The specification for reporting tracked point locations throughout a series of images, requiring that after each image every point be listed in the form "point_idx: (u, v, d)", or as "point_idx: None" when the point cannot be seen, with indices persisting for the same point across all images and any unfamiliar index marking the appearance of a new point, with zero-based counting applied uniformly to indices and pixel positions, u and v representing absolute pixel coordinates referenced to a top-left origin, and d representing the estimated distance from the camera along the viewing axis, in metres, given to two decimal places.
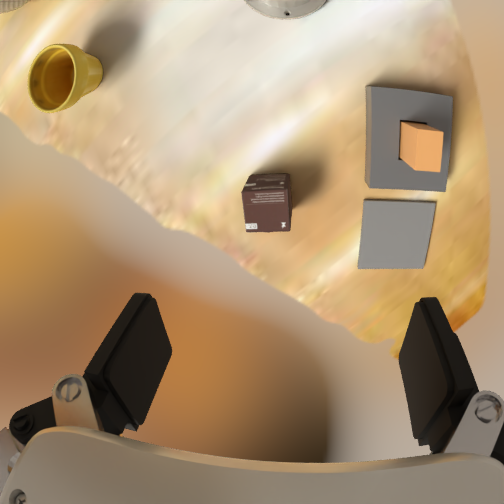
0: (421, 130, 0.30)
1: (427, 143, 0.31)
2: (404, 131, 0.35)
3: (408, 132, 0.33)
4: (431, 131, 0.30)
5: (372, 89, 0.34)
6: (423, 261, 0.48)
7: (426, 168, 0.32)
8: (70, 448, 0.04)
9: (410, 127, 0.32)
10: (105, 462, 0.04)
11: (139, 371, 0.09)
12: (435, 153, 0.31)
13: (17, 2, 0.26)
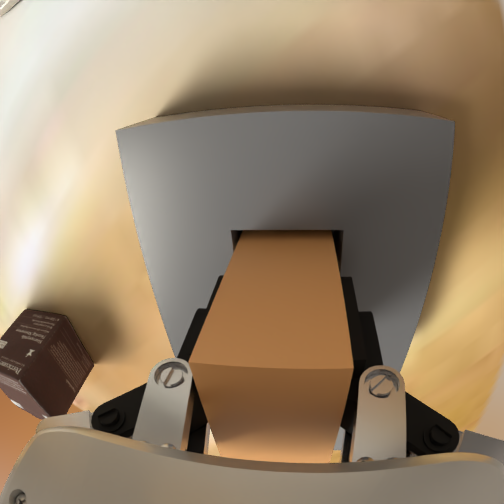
0: (212, 368, 0.06)
1: (259, 409, 0.07)
2: None
3: None
4: (275, 370, 0.06)
5: (121, 141, 0.10)
6: None
7: (267, 459, 0.08)
8: (70, 448, 0.04)
9: None
10: (105, 462, 0.04)
11: None
12: (304, 433, 0.07)
13: None
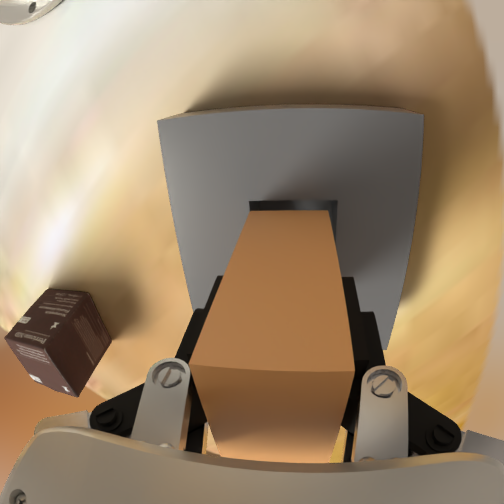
0: (212, 370, 0.06)
1: (259, 411, 0.07)
2: None
3: None
4: (276, 373, 0.06)
5: (161, 129, 0.13)
6: None
7: (267, 459, 0.08)
8: (70, 448, 0.04)
9: None
10: (105, 462, 0.04)
11: None
12: (304, 433, 0.07)
13: None
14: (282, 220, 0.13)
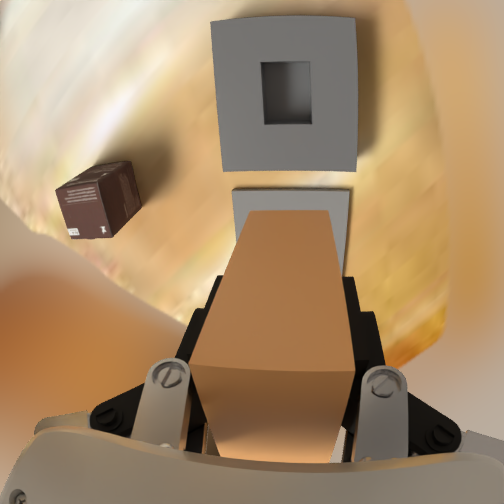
0: (212, 370, 0.06)
1: (259, 411, 0.07)
2: None
3: None
4: (276, 372, 0.06)
5: (212, 25, 0.21)
6: None
7: (267, 459, 0.08)
8: (69, 448, 0.04)
9: None
10: (105, 462, 0.04)
11: None
12: (304, 433, 0.07)
13: None
14: (282, 220, 0.13)
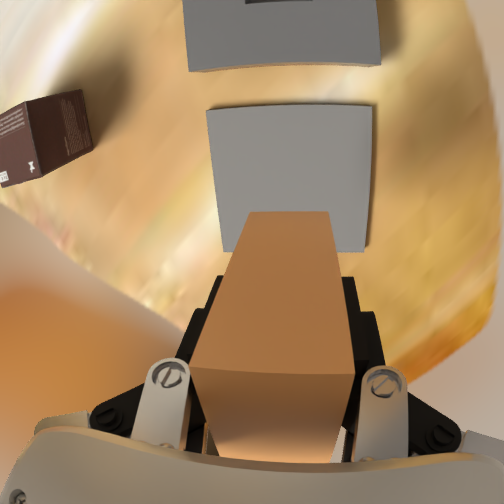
0: (212, 372, 0.06)
1: (259, 413, 0.07)
2: None
3: None
4: (276, 375, 0.06)
5: None
6: (362, 237, 0.25)
7: None
8: (69, 448, 0.04)
9: None
10: (105, 462, 0.04)
11: None
12: (304, 435, 0.07)
13: None
14: (282, 221, 0.13)
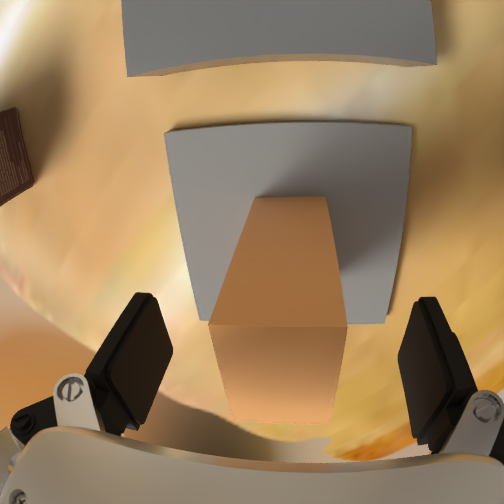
0: (228, 329, 0.08)
1: (268, 367, 0.09)
2: None
3: None
4: (281, 329, 0.08)
5: None
6: (384, 306, 0.18)
7: (274, 419, 0.10)
8: (69, 448, 0.04)
9: None
10: (105, 462, 0.04)
11: (140, 370, 0.09)
12: (307, 390, 0.09)
13: None
14: (284, 205, 0.14)
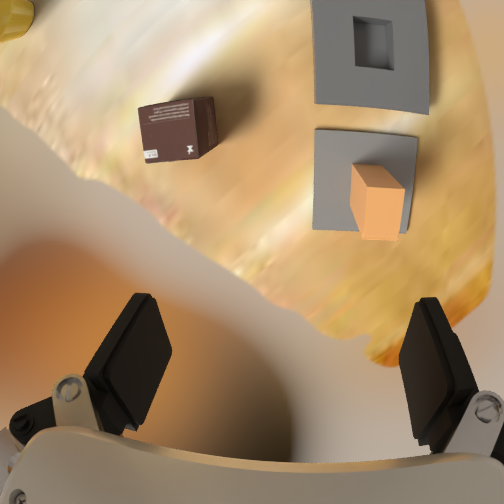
0: (373, 188, 0.25)
1: (381, 205, 0.26)
2: (357, 183, 0.30)
3: (360, 186, 0.29)
4: (387, 189, 0.25)
5: None
6: (405, 223, 0.35)
7: (378, 236, 0.27)
8: (69, 448, 0.04)
9: (362, 181, 0.28)
10: (105, 462, 0.04)
11: (139, 371, 0.09)
12: (392, 217, 0.26)
13: None
14: (367, 166, 0.32)
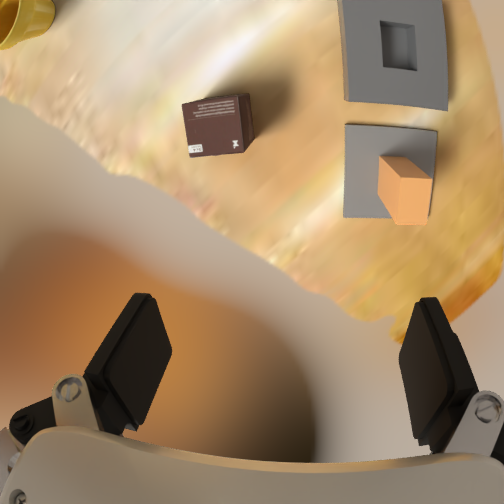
0: (405, 178, 0.27)
1: (412, 193, 0.28)
2: (387, 174, 0.32)
3: (391, 177, 0.30)
4: (417, 179, 0.27)
5: None
6: None
7: (410, 221, 0.29)
8: (70, 448, 0.04)
9: (393, 172, 0.29)
10: (105, 462, 0.04)
11: (139, 371, 0.09)
12: (421, 204, 0.28)
13: None
14: (393, 158, 0.34)
